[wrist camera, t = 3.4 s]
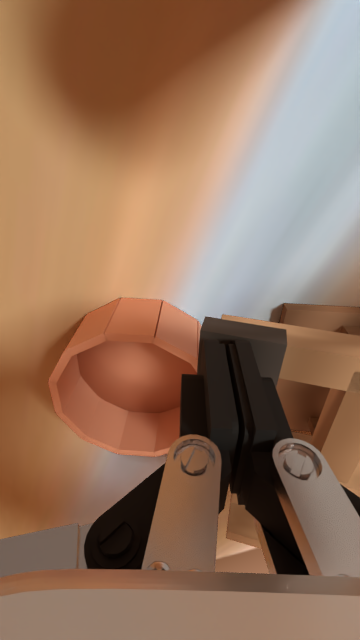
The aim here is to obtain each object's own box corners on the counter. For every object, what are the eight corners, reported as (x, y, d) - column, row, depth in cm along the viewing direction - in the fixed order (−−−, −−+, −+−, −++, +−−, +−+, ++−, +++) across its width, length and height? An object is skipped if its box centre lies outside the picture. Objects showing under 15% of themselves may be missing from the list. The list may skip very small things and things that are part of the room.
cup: (220, 303, 24) (225, 339, 20) (208, 414, 31) (209, 460, 26) (63, 294, 25) (34, 328, 20) (83, 406, 31) (64, 450, 27)
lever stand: (416, 310, 24) (602, 463, 13) (359, 426, 30) (449, 591, 20) (283, 303, 24) (354, 447, 13) (256, 419, 31) (288, 579, 20)
